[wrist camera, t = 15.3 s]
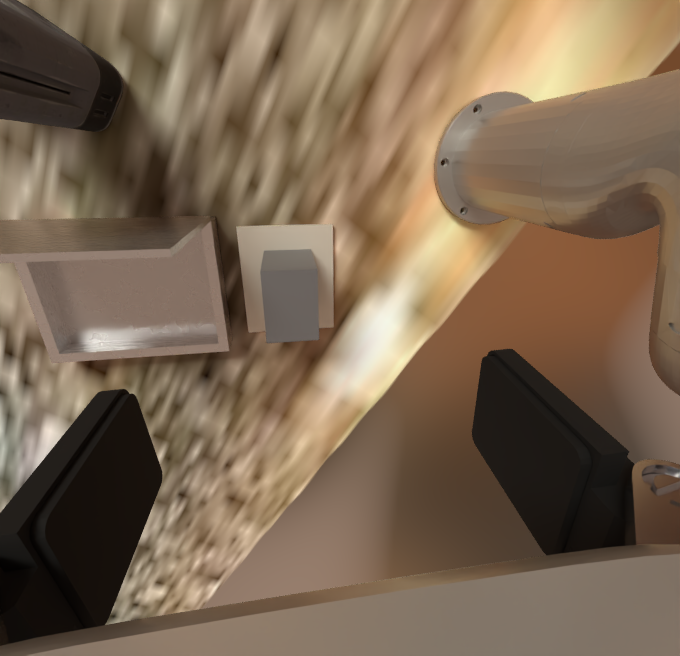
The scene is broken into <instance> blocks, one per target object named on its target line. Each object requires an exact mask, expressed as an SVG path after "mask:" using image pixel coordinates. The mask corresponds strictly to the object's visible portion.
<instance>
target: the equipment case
mask: <svg viewBox="0 0 680 656" xmlns="http://www.w3.org/2000/svg"><path fill="white" fill-rule="evenodd" d="M11 262H14V264H15V266H16V269H17V271H18V274H19V277H20V279H21V282H22V285H23V287H24V290H25V293H26V295H27V298H28V301H29V303H30V306H31V309H32V311H33V314H34V317H35V319H36V322H37V324H38V327H39V330H40V332H41V335H42V338H43V340H44V343H45V346H46V348H47V351H48V354H49V356H50V359H51V362H52V363H60V362H75V361H90V360H105V359H120V358H135V357H150V356H165V355H180V354H194V353H209V352H224V351H229V350H230V347H231V343H232V332H231V325H230V318H229V310H228V303H227V296H226V288H225V281H224V274H223V266H222V259H221V252H220V245H219V237H218V230H217V223H216V217H210V216H175V217H126V218H77V219H27V220H0V263H11Z"/></svg>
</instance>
